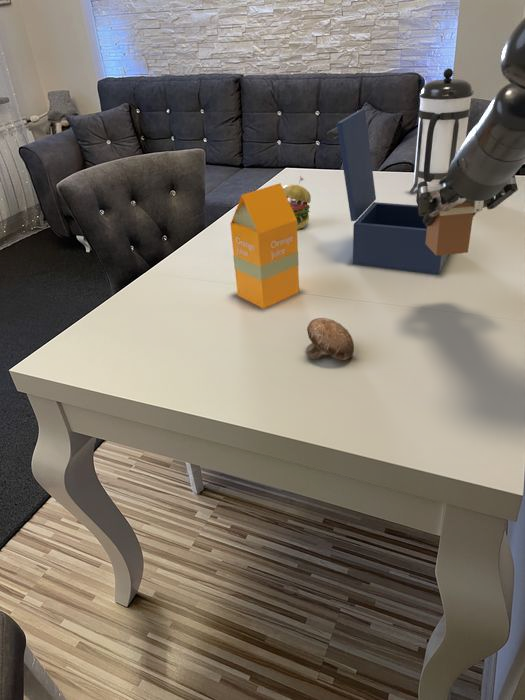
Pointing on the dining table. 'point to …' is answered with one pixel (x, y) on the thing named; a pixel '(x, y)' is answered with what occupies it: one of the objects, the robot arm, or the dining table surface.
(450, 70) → the coffee press
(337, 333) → the mushroom
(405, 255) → the dark blue open box
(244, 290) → the orange juice
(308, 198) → the hamburger
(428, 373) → the dining table surface
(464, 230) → the carton
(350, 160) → the navy box lid
